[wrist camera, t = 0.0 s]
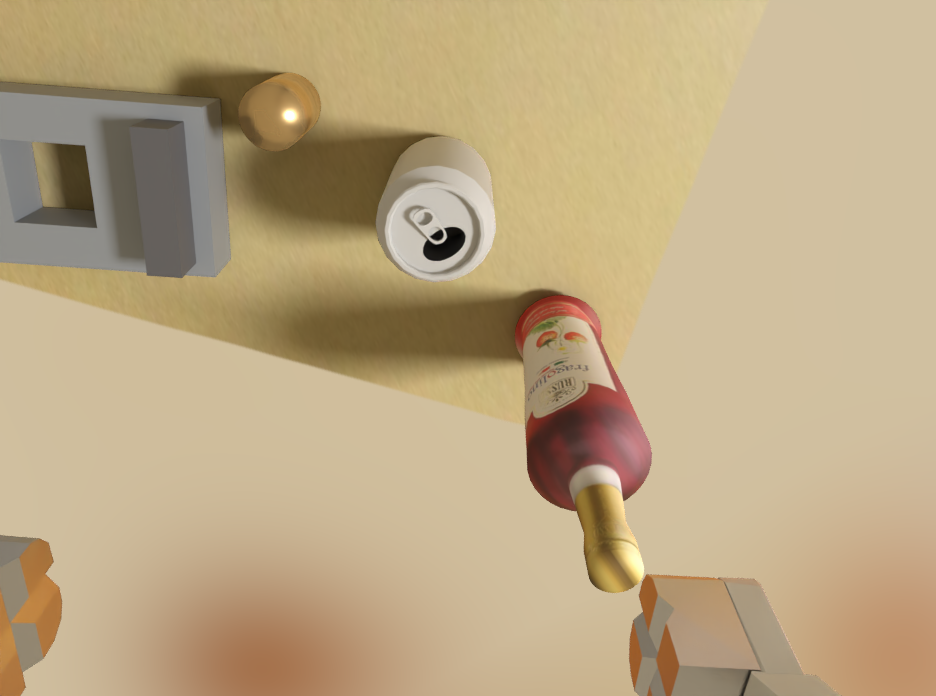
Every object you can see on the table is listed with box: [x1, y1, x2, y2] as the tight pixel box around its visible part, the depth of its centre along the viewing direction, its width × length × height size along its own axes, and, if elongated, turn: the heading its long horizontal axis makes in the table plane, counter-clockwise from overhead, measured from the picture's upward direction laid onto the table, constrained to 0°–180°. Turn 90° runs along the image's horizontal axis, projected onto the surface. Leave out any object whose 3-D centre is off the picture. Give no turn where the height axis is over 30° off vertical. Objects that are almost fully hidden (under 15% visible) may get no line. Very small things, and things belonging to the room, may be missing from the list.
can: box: [376, 136, 496, 282], centre depth 51 cm, size 8×8×12 cm
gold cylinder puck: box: [238, 73, 321, 151], centre depth 51 cm, size 4×4×6 cm
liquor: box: [515, 295, 652, 593], centre depth 49 cm, size 7×7×28 cm
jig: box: [0, 82, 231, 278], centre depth 53 cm, size 12×16×7 cm
